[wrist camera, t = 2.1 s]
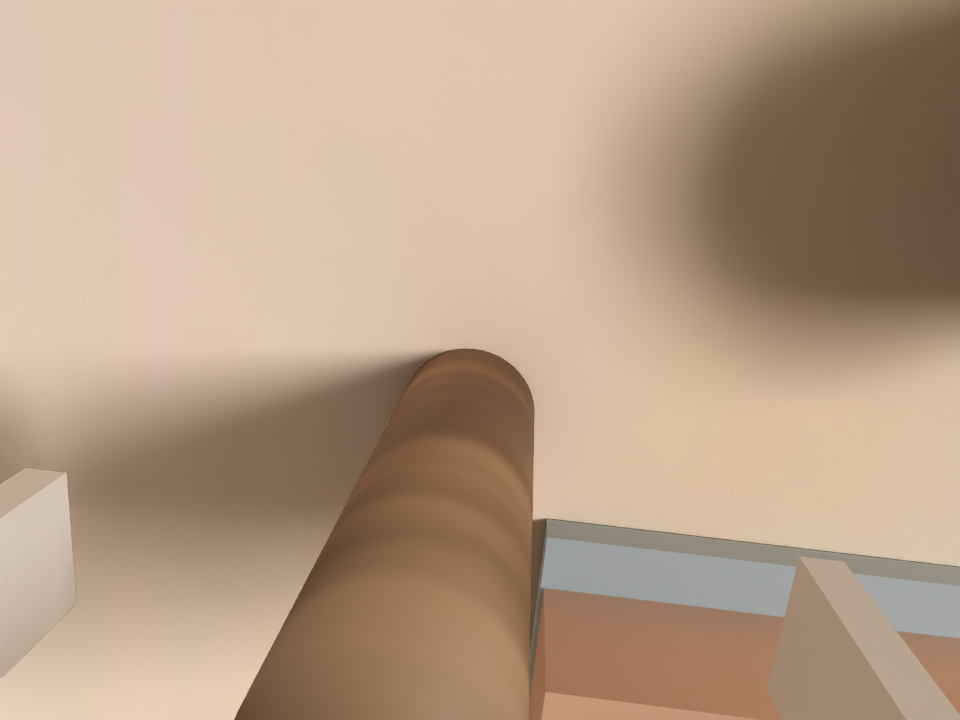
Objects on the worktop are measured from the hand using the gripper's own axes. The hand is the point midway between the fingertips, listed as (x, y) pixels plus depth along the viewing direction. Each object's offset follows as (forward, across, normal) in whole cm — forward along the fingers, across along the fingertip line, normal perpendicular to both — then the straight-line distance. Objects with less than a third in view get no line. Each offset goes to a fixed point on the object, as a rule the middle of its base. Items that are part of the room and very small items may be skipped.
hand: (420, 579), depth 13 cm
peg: (+7, 0, 0) cm, 7 cm away
